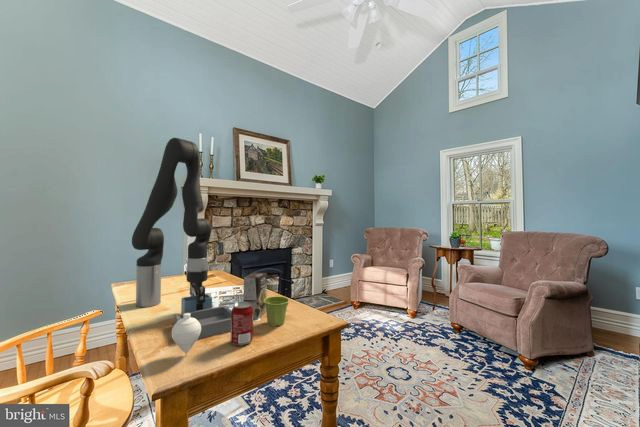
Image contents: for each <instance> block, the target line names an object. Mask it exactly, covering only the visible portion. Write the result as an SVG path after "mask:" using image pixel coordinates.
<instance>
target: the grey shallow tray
mask: <svg viewBox="0 0 640 427" xmlns="http://www.w3.org/2000/svg"><path fill="white" fill-rule="evenodd" d="M231 310H232V309H231V308H229V307H228V306H227V305H222V306H215V307H212V308H209V309H204V310H199V311H193V312H188V313H190V314H191V315H190V317H191V318H195V319H197V320H198V321H199V323H200V325H201V333H200V335H199V337H198V339H197V340H199V339H203V338H207V337H211V336H214V335H219V334H224V333H227V332H231ZM183 314H185V313H183ZM183 314H181V313H178V314H174V325H175V324H176V323H177V321H179V320H181V319H183Z"/></svg>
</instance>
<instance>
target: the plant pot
mask: <svg viewBox="0 0 640 427" xmlns="http://www.w3.org/2000/svg"><path fill="white" fill-rule="evenodd" d="M289 302H290V298H288V297H285V296H278V295H277V296H270V297H267V298H266V299H264V303H265V306H266V312H265V313H266V319H267V320H266V321H267V324H268V325H269V326H272V327H276V326H283V325H284V324H285V322H286V313H287V307H288V304H289Z"/></svg>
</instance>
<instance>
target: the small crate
mask: <svg viewBox="0 0 640 427" xmlns="http://www.w3.org/2000/svg"><path fill="white" fill-rule="evenodd" d="M200 300H201V298H200ZM180 304H181V306H180V308H181V309H180V310H181V311H180V312H181V313H180V314H183V313H188V312H193V311H196V305H197V303H196V299H195V298H194V296H191V295H190V296H185V297H181V301H180ZM209 308H213V297H212V296H211V295H210V294H209V293H205V302H204V303H203V310H204V309H209Z"/></svg>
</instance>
